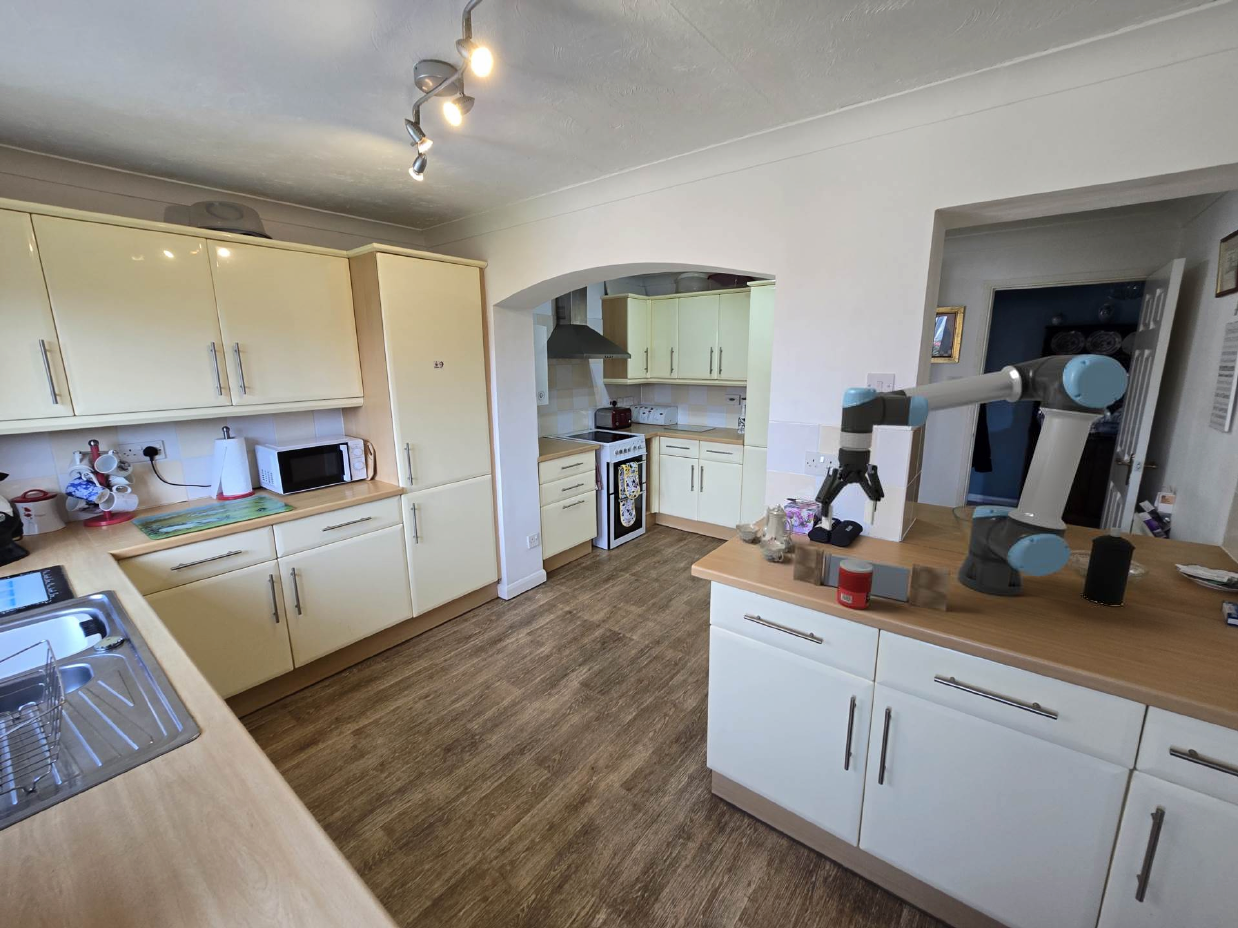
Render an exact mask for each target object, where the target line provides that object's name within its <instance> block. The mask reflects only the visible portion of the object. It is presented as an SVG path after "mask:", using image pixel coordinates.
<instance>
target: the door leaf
mask: <svg viewBox="0 0 1238 928" xmlns="http://www.w3.org/2000/svg"><path fill="white" fill-rule="evenodd" d="M847 559H854V560H860V561H864V562H867V563H869V564H871V565H872V566H873V577H872V586H871V595H875V596H878V597H879V596H880V597H883V598H884V597H885V598H888V599H893V600H897V601H903V602H907V600H908V599H907V598H908V591H909V584H910V583H909V582H910V576H911V575H910V573H911V568H910V567H904V566H899V565H894V564H888V563H882V562H878V561H871V560H866V559H860V558H855V557H850V556H844V555H838V554H832V553H828V552H827V553H824V562H823V567H824V568H823V575H822V584H823V585H825V586H832V587H837V588H838V577H839V566H840V562H841V561H842V560H847Z"/></svg>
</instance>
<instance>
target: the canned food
mask: <svg viewBox="0 0 1238 928" xmlns="http://www.w3.org/2000/svg"><path fill="white" fill-rule="evenodd" d="M872 577H873V566H872V565H871V564H869V563H867V562H864V561H860V560H854V559H847V560H842V561H841V562H840V566H839V577H838V587H837V593H836V601H837V602H838V604H840V605H841V606H842V607H845V608H848V609H852V610H857V611H859V610H865V609H867V608H869V607H870V603H871V595H872V594H871V586H872Z"/></svg>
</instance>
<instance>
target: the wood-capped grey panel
mask: <svg viewBox="0 0 1238 928" xmlns="http://www.w3.org/2000/svg"><path fill="white" fill-rule="evenodd" d="M794 549H795V550H794V563H793V579H792V580H794V581H799V582H803V583H808V584H813V585H814V586H821V584H822V583H823V571H824V568H823V567H824V559H825V548H824V547H817V546H811V545H805V544H799V543H796V544H795V548H794ZM951 574H952V573H951V570H950V569H949V570H947V569H943V568H937V567H931V566H925V565H921V564H917V563H912V569H911V577H910V588H909V596H908V605H909V606H913V607H914V606H915V607H916V606H917V607H920V608H921V607H922V608H925V609H926V608H927V609H931V610H936V611H940V612H945V613H946V611H947V603H948V596H949V590H950V583H951V582H950V581H951Z"/></svg>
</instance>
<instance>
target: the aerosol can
mask: <svg viewBox="0 0 1238 928" xmlns="http://www.w3.org/2000/svg"><path fill="white" fill-rule="evenodd" d="M1121 534H1122V528H1120V527H1111V528H1110V531H1109V534H1105V535H1099V536H1097V537H1095V538H1093V539H1092V540H1091V542H1092V545H1091V550H1090V556H1089V560H1088V566H1087V570H1086V575H1085V581H1084V587H1083V593H1082V592H1081V595H1082V594H1083V596H1085V598H1088V599H1089V600H1093V601H1097V602H1098V603H1103V604H1107V605H1121V604H1122V603H1123V602H1124V599H1125V598H1124V597H1125V593H1126V588H1127V582H1128V578H1129V573H1130V568H1131V564H1132V559H1133V554H1134V551H1136V547H1135V546H1134V545H1133V543H1132V542H1131V541H1129V540H1127V539H1126V538H1124V537H1122V536H1121ZM1083 596H1082V597H1083ZM1085 598H1084V599H1085ZM1089 600H1088V601H1089ZM1098 603H1097V604H1098ZM1107 605H1106V606H1107Z"/></svg>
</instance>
